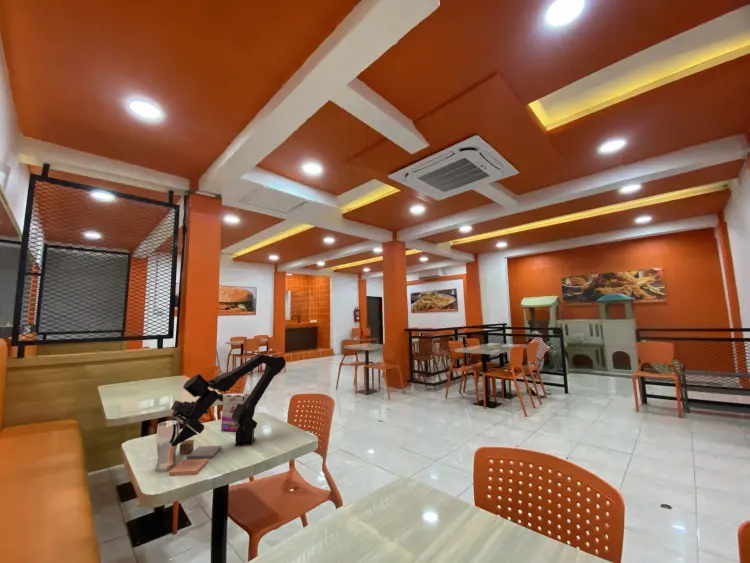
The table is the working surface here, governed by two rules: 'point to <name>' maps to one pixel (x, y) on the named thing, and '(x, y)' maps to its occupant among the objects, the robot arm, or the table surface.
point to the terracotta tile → (189, 467)
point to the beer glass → (166, 444)
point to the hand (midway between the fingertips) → (168, 442)
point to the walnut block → (186, 447)
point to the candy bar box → (231, 409)
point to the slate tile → (204, 452)
